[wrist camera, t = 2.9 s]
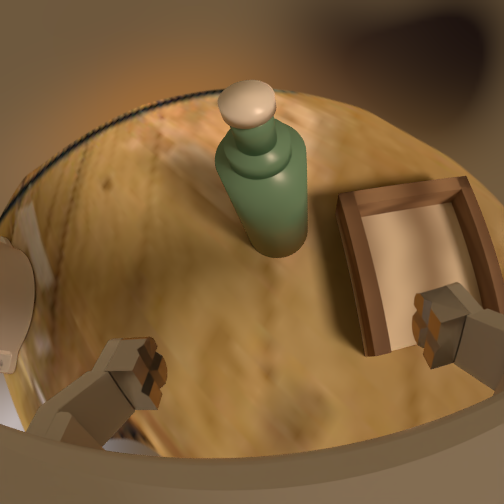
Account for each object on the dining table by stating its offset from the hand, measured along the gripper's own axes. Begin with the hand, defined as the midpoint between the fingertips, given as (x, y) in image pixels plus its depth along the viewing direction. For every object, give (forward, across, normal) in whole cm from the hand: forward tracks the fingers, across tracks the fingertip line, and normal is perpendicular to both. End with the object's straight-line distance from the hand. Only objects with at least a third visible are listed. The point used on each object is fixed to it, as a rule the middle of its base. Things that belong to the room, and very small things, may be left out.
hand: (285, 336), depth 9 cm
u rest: (+14, -11, +8) cm, 20 cm away
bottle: (+18, 0, +4) cm, 19 cm away
